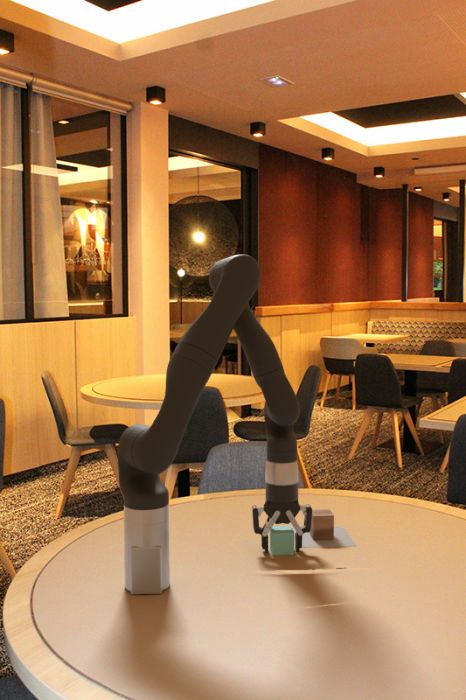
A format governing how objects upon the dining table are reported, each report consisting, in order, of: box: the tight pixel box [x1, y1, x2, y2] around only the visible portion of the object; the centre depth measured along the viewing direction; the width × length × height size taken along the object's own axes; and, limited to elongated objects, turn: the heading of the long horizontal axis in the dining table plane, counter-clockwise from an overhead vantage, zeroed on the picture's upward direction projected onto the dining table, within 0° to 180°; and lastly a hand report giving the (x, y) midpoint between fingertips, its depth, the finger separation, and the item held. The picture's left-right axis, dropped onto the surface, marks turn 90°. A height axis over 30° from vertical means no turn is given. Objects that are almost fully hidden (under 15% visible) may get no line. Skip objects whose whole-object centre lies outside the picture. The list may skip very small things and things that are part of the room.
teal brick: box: [269, 525, 295, 556], centre depth 164 cm, size 5×5×6 cm
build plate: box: [292, 526, 357, 549], centre depth 174 cm, size 14×14×1 cm
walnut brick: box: [310, 508, 335, 540], centre depth 173 cm, size 5×5×6 cm
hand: (281, 550), depth 164 cm, fingers open, 6 cm apart
